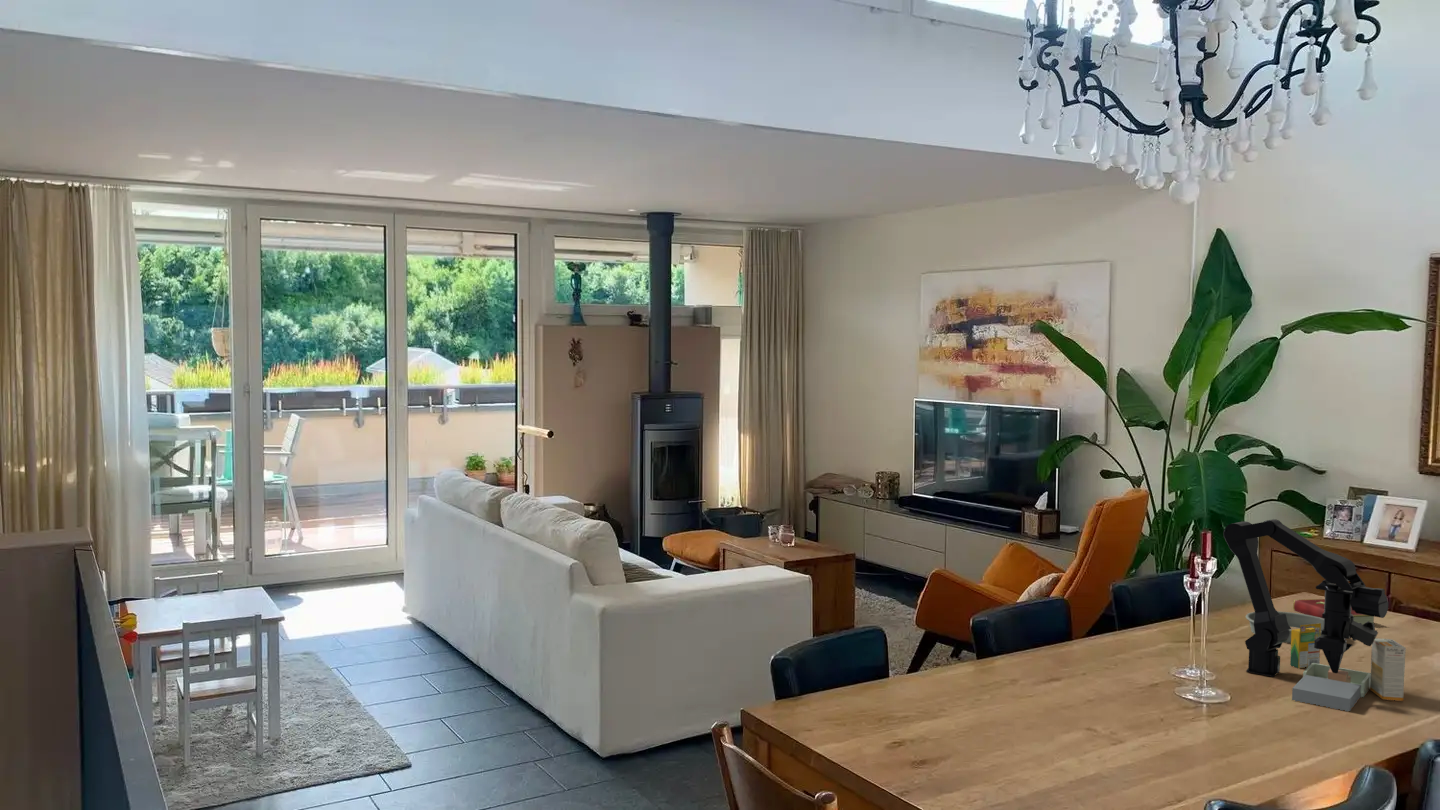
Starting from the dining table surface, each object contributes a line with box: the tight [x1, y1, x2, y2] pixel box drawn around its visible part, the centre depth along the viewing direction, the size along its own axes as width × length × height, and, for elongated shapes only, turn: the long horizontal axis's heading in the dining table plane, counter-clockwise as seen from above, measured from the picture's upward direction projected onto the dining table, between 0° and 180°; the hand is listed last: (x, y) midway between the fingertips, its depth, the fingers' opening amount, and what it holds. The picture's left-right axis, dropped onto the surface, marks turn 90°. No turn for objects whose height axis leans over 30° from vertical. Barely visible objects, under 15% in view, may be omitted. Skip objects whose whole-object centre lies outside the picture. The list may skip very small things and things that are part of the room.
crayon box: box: [1289, 623, 1321, 669], centre depth 286 cm, size 7×3×12 cm, turn 108°
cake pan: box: [1245, 610, 1324, 644], centre depth 318 cm, size 25×25×4 cm
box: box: [1302, 663, 1371, 698], centre depth 269 cm, size 13×11×4 cm
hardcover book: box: [1292, 598, 1375, 625], centre depth 339 cm, size 12×21×4 cm, turn 9°
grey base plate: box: [1291, 675, 1361, 712], centre depth 259 cm, size 12×14×3 cm
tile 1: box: [1328, 668, 1348, 683], centre depth 267 cm, size 4×4×2 cm
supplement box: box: [1369, 637, 1407, 702], centre depth 262 cm, size 8×5×13 cm, turn 168°
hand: (1335, 672), depth 266 cm, fingers closed, pressing on tile 1
